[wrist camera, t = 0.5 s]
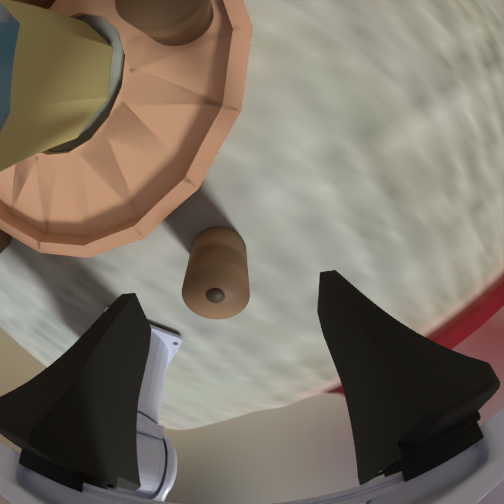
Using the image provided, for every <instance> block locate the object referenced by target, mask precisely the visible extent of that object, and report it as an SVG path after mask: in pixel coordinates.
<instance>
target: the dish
mask: <svg viewBox="0 0 504 504" xmlns="http://www.w3.org/2000/svg"><path fill="white" fill-rule="evenodd" d="M211 3H212V7H213V12H214V16H213V21H212V23H211V26H210V27H209V29H208V30H207V31H206V32H205V33H204V34H203V35H202V36H201V37H200V38H198V39H197V40H195V41H193V42H191V43H188V44H185V45H180V46H167V45H163V44H160V43H158V42H157V41H155V40H154V39H152V38H151V37H149V36H148V35H146V34H145V33H143V32H142V31H140V30H139V29H137V28H135V27H134V26H132V25H131V24H129V23H128V22H126V21H124V20H123V19H122V18H121V17H120V16H119V15H118V13H117V11H116V7H115V0H56V1H55V2H54V3H53V4H52V6H51V7H50V8H49V9H48V10H51V11H55V12H58V13H61V14H64V15H67V16H70V17H73V18H77V17H80V16H84V15H88V16H94V17H100V18H104V19H105V20H107V21H108V22H109V23H110V24H111V25H112V26H113V27H114V28H115V29H116V30H117V31H118V33H119V36H120V40H121V43H122V47H123V50H124V54H125V61H124V70H123V80H122V87H121V89H120V92H119V94H118V96H117V98H116V101H115V103H114V105H113V108H112V110H111V113H110V115H109V117H108V118H107V119H106V121H105V122H104V123H103V124H102V125H101V127H100V128H99V129H98V130H97V131H96V133H95V134H94V135H93V136H92V138H91V139H90V140H89V141H87V142H85V143H83V144H82V145H80V146H78V147H77V148H75V149H74V150H72V151H62V152H51V151H49V150H45V151H43V152H40V153H38V154H36V155H34V156H31V157H29V158H27V159H25V160H23V161H21V162H19V163H17V164H15V165H13V166H11V167H9V168H7V169H5V170H3V171H1V172H0V229H1V230H3V231H4V232H6V233H8V234H9V235H11V236H12V237H14V238H16V239H17V240H19V241H21V242H22V243H24V244H26V245H27V246H29V247H31V248H33V249H34V250H36V251H38V252H40V253H47V254H57V255H66V256H76V257H86V258H89V257H92V256H95V255H97V254H100V253H103V252H106V251H108V250H111V249H114V248H117V247H120V246H122V245H125V244H128V243H131V242H134V241H137V240H140V239H143V238H144V237H145V236H146V235H147V234H148V233H150V232H151V231H152V230H153V229H154V228H155V227H156V226H157V225H158V224H159V223H160V222H161V221H162V220H164V219H165V218H166V217H167V216H168V215H169V214H170V213H171V212H172V211H173V210H175V209H176V208H177V207H178V206H179V205H180V204H181V203H183V202H184V201H185V200H186V199H187V198H188V197H189V196H191V195H192V194H193V193H194V192H195V191H196V190H198V189H199V187H200V185H201V183H202V181H203V179H204V177H205V175H206V173H207V171H208V170H209V168H210V166H211V164H212V162H213V160H214V158H215V156H216V154H217V153H218V151H219V149H220V147H221V145H222V143H223V142H224V140H225V138H226V136H227V135H228V133H229V131H230V129H231V127H232V126H233V124H234V122H235V121H236V119H237V117H238V115H239V114H240V112H241V108H242V100H243V92H244V84H245V77H246V69H247V62H248V55H249V48H250V41H251V35H252V28H253V27H252V24H251V22H250V19H249V16H248V13H247V10H246V8H245V5H244V2H243V0H211Z"/></svg>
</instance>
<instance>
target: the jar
mask: <svg viewBox="0 0 504 504" xmlns="http://www.w3.org/2000/svg"><path fill="white" fill-rule="evenodd" d="M112 52H113V47H112V46H111V45H110V44H109V43H108V42H107V41H106V40H105V39H104V38H103V37H102V36H101V35H99V34H98V33H97V32H96V31H95V30H94V29H93V28H92V27H91V26H89V25H88V24H87V23H86V22H84V21H81V20H78V19H76V18H73V17H70V16H67V15H64V14H61V13H58V12H55V11H51V10H48V9H45V8H41V7H37V6H33V5H29V4H25V3H21V2H16V1H11V0H0V172H1V171H3V170H5V169H7V168H9V167H11V166H13V165H15V164H17V163H19V162H21V161H23V160H25V159H27V158H29V157H31V156H34V155H36V154H38V153H40V152H43V151H45V150H48V149H50V148H52V147H55V146H57V145H60V144H63V143H65V142H68V141H71V140H73V139H76V138H78V136H79V135H80V133H81V132H82V131H83V129H84V128H85V127H86V125H87V124H88V123H89V121H90V120H91V119H92V117H93V116H94V115H95V114H96V112H97V111H98V110H99V109H100V108H101V106H102V105H103V104H104V103H105V102H106V100H107V99H108V98H109V83H110V71H111V61H112Z"/></svg>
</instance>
